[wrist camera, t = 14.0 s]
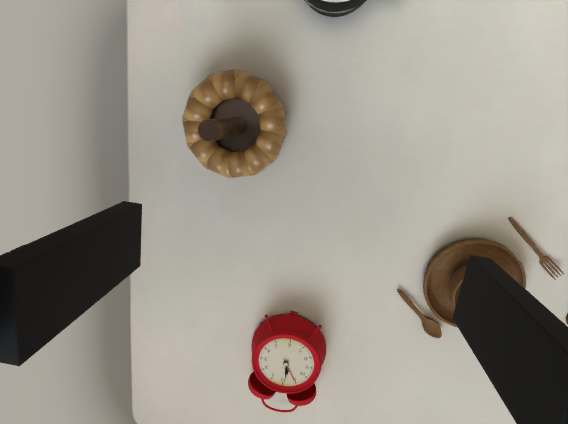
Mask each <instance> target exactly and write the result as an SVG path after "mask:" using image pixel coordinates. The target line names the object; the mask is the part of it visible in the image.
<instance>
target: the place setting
mask: <svg viewBox="0 0 568 424" xmlns="http://www.w3.org/2000/svg"><path fill="white" fill-rule="evenodd" d="M508 219H509V221H510V222H511V224H512V225H513V226H514V227H515V229H516V230H517V231H518V232H519V234H520V235H521V236H522V237H523V238H524V239H525V241H526V242H527V243H528V244H529V245H530V246H531V248H532V249H533V250H534V251H535V252H536V253H537V255H538V256H539V257H540V264H541V265H542V266H543V268H544V269H545V270H546V271H547V272H548V273H549V274H550V275H551V276H552V277H553V278H554V276H553V275H552V274H551V273H550V272H549V271H548V270H547V269H546V268H545V266H544V265H543V263H544V264H545V265H546V266H547V267H548V268H549V269H550V270H551V271H552V273H553V274H554V275H555V276H556V277H558V276H557V275H556V274H555V273H554V271H553V270H552V269H551V268H550V267H549V266H548V265H547V264H546V262H545V261H547V262H548V263H549V264H550V266H551V267H552V268H553V269H554V270H555V271H556V272H557V273H558V274H559V275H560V273H559V272H558V271H557V270H556V269H555V268H554V267H553V265H552V264H551V263H550V262H549V261H548V259H549V260H550V261H551V262H552V263H553V264H554V265H555V266H556V267H557V268H558V269H559V270H560V271H561V269H560V268H559V267H558V266H557V265H556V264H555V263H554V262H553V261H552V259H551V258H549V257H547V256H544V255H543V254H542V253H541V252H540V250H539V249H538V248H537V247H536V246H535V244H534V243H533V242H532V241H531V240H530V238H529V237H528V236H527V235H526V234H525V232H524V231H523V230H522V229H521V228H520V226H519V225H518V224H517V223H516V222H515V221H514V220H513V219H512V218H511V217H510V218H508ZM470 255H475V256H481V257H488V258H491V259H492V260H493V261H494V262H496V263H497V264H498V265H499V266H500V267H501V268H502V269H503V270H504V271H506V272H507V273H508V274H509V275H510V276H511V277H512V278H513V279H515V280H516V281H517V282H518V283H519V284H520V285H521V286H522V287H524V288H525V287H526V276H525V271H524V268H523V266H522V264H521V262H520V261H519V259H518V258H517V257H516V255H515V254H514V253H513V252H511V251H510V250H509V249H507V248H506V247H504V246H502V245H500V244H498V243H496V242H493V241H489V240H482V239H470V240H464V241H460V242H457V243H454V244H452V245H450V246H448V247H446V248H445V249H443V250H442V251H441V252H440V253H438V254H437V255H436V256H435V257H434V258H433V260H432V261H431V263H430V264H429V266H428V268H427V270H426V273H425V277H424V283H423V288H424V295H425V299H426V301H427V304H428V305H429V307H430V309H431V310H432V312H433V313H434V314H435V315H436V316H437V317H438V318H440V319H441V320H442V321H444V322H446V323H447V324H449V325H452V326H455V327H458V326H457V325H456V323H455V321H454V320H453V318H452V317H453V314H454V310H455V307H456V303H457V300H458V296H459V292H460V289H461V285H462V282H463V278H464V274H465V271H466V267H467V264H468V260H469V256H470ZM561 272H562V271H561ZM562 273H563V272H562ZM563 274H564V273H563ZM560 276H561V275H560ZM554 279H555V278H554ZM555 280H556V279H555ZM397 291H398V293H399V295H400V296H401V297H402V299H403V300H404V301H405V302H406V303H407V304H408V305H409V306H410V307H411V308H412V309H413V310H414V311H415V313H416V314H417V315H418V316H419V317H420V318H421V320H422V325H423V328H424V330H425V332H426V333H427V334H429V335H430V336H432V337H435V338H440V337H441V329H440V326H439V325H438V324H437V323H436V322H435V321H433V320H431V319H429V318H426V317H424V316H423V315H422V314H421V313H420V312H419V310H418V309H417V308H416V307H415V306H414V304H413V303H412V302H411V301H410V299H409V298H408V297H407V296H406V295H405V294H404V293H403V292H402V291H401V290H399V289H398V290H397ZM566 321H567V324H568V315H567V317H566Z"/></svg>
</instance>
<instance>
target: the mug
mask: <svg viewBox="0 0 568 424" xmlns="http://www.w3.org/2000/svg"><path fill="white" fill-rule="evenodd" d="M305 1H306V3H307V4H308V5H309V6H310V7H311V8H312V9H314V10H315V11H316V12H318V13H320V14H322V15H325V16H329V17H339V16H344V15H347V14H349V13H351V12H353V11H355V10H356V9H358V8H359V7H360V6H361V5H362V4H363V3H364V2H365V1H366V0H305Z"/></svg>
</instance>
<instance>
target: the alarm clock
mask: <svg viewBox="0 0 568 424" xmlns="http://www.w3.org/2000/svg"><path fill="white" fill-rule="evenodd" d="M265 318H266V319H267V320H265V321H264V322H263V323H262V324H261V325H260V326H259V327H258V328H257V330H256V331H255V333H254V336H253V339H252V366H253V370H254V372H253V373H251V375H250V377H249V380H248V386H249V389H250V391H251V392H252V393H253V394H254V395H255V396H257V397H258V398H261V399H262V402H263V404H264V405H265V406H266V407H267V408H269V409H271V410H274V411H278V412H291V411H294V410H295V409H296V408H297V406H303V405H307V404H309V403H311V402H312V401H313V400H314V398H315V396H316V386H315V384H314V382H315V381H316V379H317V378H318V376H319V374H320V371H321V366H322V364H323V362H324V359H325V355H326V345H325V340H324V338H323V336H322V334H321V332H320V331H319V328H320V329H321V328H322V326H321V325H319V326H318V328H317V327H316V326H315V325H314V324H313V323H311V322H310V321H308V320H306V319H304V318H302V317H299V316H297V312H294V311H291V313H290V315H277V316H274V317H271V318H269V319H268V315H265ZM275 392H280V393H287V398H288V400H289V402H290V403H292V404H293V405H296V406H295V407H294V408H293V409H291V410H278V409H274V408H271V407H269V406H268V405H266V404H265V402H264V400H263V399H269V398H271V397H272V396H273V395H274V394H275Z"/></svg>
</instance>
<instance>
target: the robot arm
mask: <svg viewBox="0 0 568 424" xmlns="http://www.w3.org/2000/svg"><path fill="white" fill-rule="evenodd" d="M141 221H142V204H139V203H132V202H126V201H123V202H121V203H119V204H117V205H115V206H112V207H110V208H108V209H105V210H103V211H101V212H99V213H96V214H94V215H92V216H90V217H88V218H85V219H83V220H81V221H79V222H76V223H74V224H72V225H70V226H67V227H65V228H63V229H60V230H58V231H56V232H54V233H51V234H49V235H47V236H45V237H42V238H40V239H38V240H36V241H33V242H31V243H29V244H26V245H23V246H20V247H18V248H16V249H14V250H12V251H10V252H7V253H5V254H2V255H0V362H1V363H6V364H11V365H17V366H20V365H21V364H23V363H24V362H25V361H26V360H28V359H29V358H30V357H31V356H32V355H34V354H35V353H36V352H37V351H38V350H40V349H41V348H42V347H43V346H44V345H46V344H47V343H48V342H49V341H50V340H52V339H53V338H54V337H55V336H56V335H57V334H59V333H60V332H61V331H62V330H64V329H65V328H66V327H67V326H68V325H70V324H71V323H72V322H73V321H74V320H75V319H77V318H78V317H79V316H80V315H82V314H83V313H84V312H85V311H87V310H88V309H89V308H90V307H91V306H92V305H94V304H95V303H96V302H97V301H99V300H100V299H101V298H102V297H103V296H104V295H106V294H107V293H108V292H109V291H111V290H112V289H113V288H114V287H115V286H117V285H118V284H119V283H120V282H121V281H123V280H124V279H125V278H126V277H127V276H129V275H130V274H131V273H132V272H134V271H135V270H136V269H137V268H138V267H140V258H141ZM452 318H453V320H454V321H455V323H456V325H457V326H458V328H459V330H460V331H461V333H462V335H463V336H464V338H465V339H466V341H467V343H468V344H469V346H470V348H471V349H472V351H473V353H474V354H475V356H476V358H477V359H478V361H479V362H480V364H481V366H482V367H483V369H484V371H485V372H486V374H487V376H488V377H489V379H490V381H491V382H492V384H493V385H494V387H495V389H496V390H497V392H498V394H499V395H500V397H501V399H502V400H503V402H504V404H505V405H506V407H507V408H508V410H509V412H510V413H511V415H512V417H513V418H514V420H515V422H516V423H517V424H568V327H567V326H566V325H565V324H564V323H563V322H562V321H560V320H559V319H558V318H557V317H556V316H555V315H554V314H553V313H551V312H550V311H549V310H548V309H547V308H546V307H545V306H544V305H543V304H541V303H540V302H539V301H538V300H537V299H536V298H535V297H534V296H532V295H531V294H530V293H529V292H528V291H527V290H526V289H525V288H524V287H522V286H521V285H520V284H519V283H518V282H517V281H516V280H515V279H513V278H512V277H511V276H510V275H509V274H508V273H507V272H506V271H504V270H503V269H502V268H501V267H500V266H499V265H498V264H497V263H496V262H494V261H493V260H492V259H491V258H488V257H481V256H475V255H470V256H469V260H468V264H467V267H466V271H465V274H464V278H463V282H462V285H461V289H460V292H459V296H458V300H457V303H456V307H455V310H454V314H453V317H452Z"/></svg>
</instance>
